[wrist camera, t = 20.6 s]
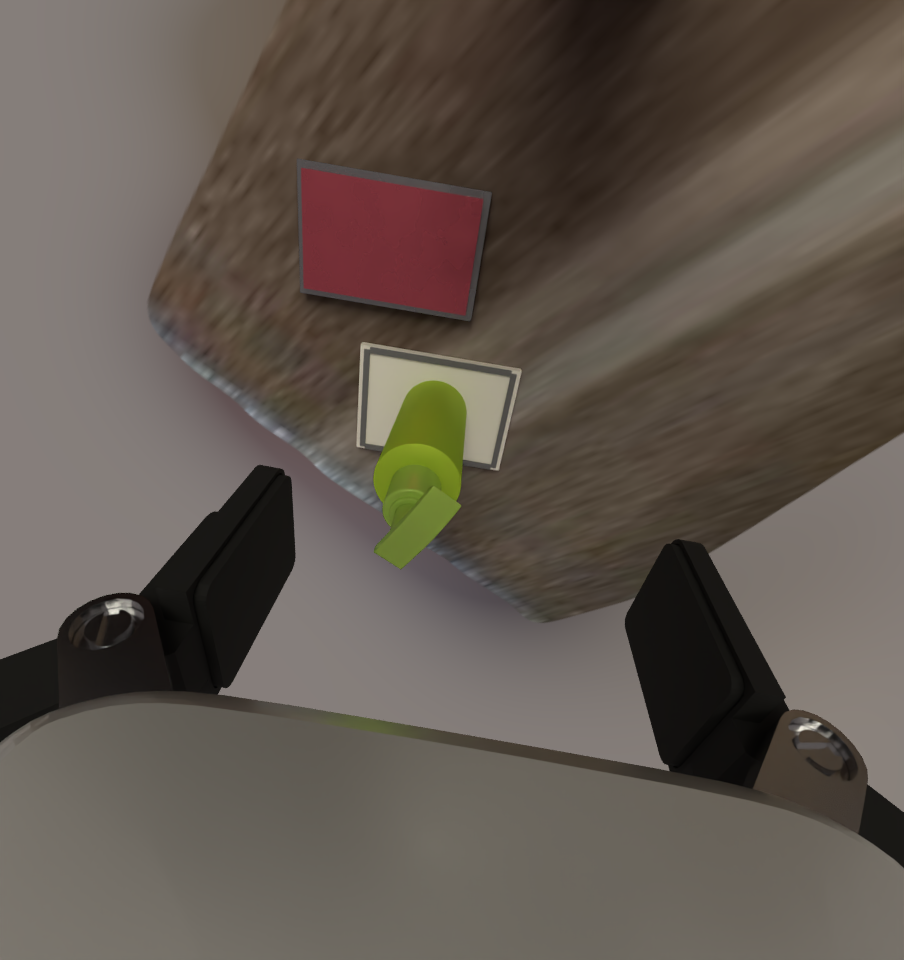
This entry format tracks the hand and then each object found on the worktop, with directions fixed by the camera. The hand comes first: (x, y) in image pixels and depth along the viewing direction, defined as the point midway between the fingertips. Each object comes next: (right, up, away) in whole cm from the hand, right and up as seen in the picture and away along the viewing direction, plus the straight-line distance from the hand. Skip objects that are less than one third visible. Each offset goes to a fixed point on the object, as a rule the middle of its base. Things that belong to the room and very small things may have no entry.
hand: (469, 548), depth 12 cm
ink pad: (-5, +20, +24) cm, 32 cm away
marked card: (-2, +8, +31) cm, 32 cm away
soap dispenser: (-2, +8, +30) cm, 32 cm away
